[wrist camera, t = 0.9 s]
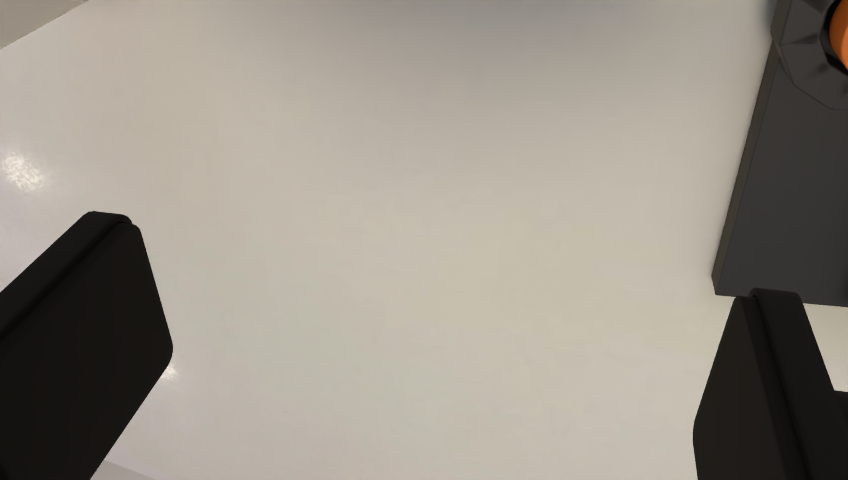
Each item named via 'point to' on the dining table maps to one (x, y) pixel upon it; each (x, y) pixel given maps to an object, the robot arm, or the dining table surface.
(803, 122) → the scale
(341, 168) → the dining table surface
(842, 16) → the button
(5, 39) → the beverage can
